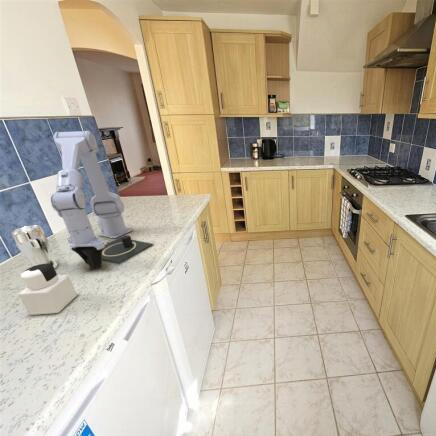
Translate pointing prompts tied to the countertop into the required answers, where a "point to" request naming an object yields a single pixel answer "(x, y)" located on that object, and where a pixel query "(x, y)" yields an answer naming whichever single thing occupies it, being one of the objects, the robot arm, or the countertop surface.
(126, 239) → the eye stopper
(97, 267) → the eye stopper
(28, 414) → the countertop surface
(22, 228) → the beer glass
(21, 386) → the countertop surface
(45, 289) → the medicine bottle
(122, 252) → the slate board
